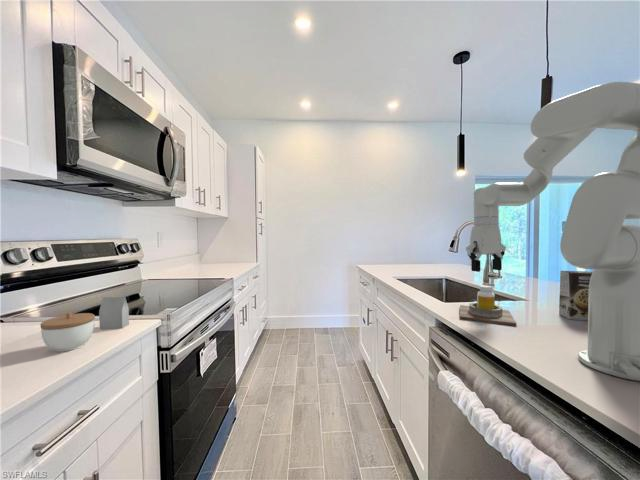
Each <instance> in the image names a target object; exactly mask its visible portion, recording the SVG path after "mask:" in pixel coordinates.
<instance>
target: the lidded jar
mask: <svg viewBox="0 0 640 480" xmlns="http://www.w3.org/2000/svg"><path fill="white" fill-rule="evenodd" d="M95 317H96V316H95V314H93V313H91V312H83V313H79V312H78V313H72V312H71V311H70V312H66V313H65V315H60V316H56V317H52V318H49V319H46V320H44V321H42V322H41V323H40V328H41V330H40V331H41V338H42V340H43V343H44V344H45V346H47V348H49V349H51V350H53V351H54V352H55V353H62V352H63V353H65V352H69V351H73V350H76V349H79V348H81V347H83V346H85V344H86V343H87V342H88V341H89V339H90V338H91V337H92V335H93V333H94V329H95V319H96V318H95Z"/></svg>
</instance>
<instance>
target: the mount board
mask: <svg viewBox="0 0 640 480" xmlns="http://www.w3.org/2000/svg"><path fill="white" fill-rule="evenodd" d="M459 307H460V308H459V311H460V312H459V320H462V321H463V320H464V321H471V322H478V323H479V322H480V323H487V324H488V323H489V324H496V325H504V326H510V327H517V322H516V320H515V318H514V316H513V315H512V313H511V312H510V310H509V309H503V307H502V306H500V305H498V304H495V309H482V308H477V302H471V303H469V304H468V305H464V304H463V305H462V304H460V306H459Z"/></svg>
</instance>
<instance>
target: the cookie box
mask: <svg viewBox="0 0 640 480" xmlns="http://www.w3.org/2000/svg"><path fill="white" fill-rule="evenodd" d="M592 273H593V271H584V270H583V271H580V270H578V271H577V270H560V274H559V277H560V278H559V300H558V301H559V303H558V304H559V305H558V308H559V309H558V314H559V315H561V316H563V317H564V318H567V319H569V320H574V321H575V320H576V321H577V320H580V321H588V300H589V282H590V278H591V275H592Z"/></svg>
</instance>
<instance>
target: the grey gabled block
mask: <svg viewBox="0 0 640 480" xmlns="http://www.w3.org/2000/svg"><path fill="white" fill-rule="evenodd" d="M101 298H102V299H101V302H100V303H101V304H100V308H99V310H98V319H99V330H118V329H119V330H120V329H124V328H125V327H128V326H129V325H130V317H129V314H130V313H129V312H130V311H129V304H128V302H127V298H126V296H102V297H101Z"/></svg>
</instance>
